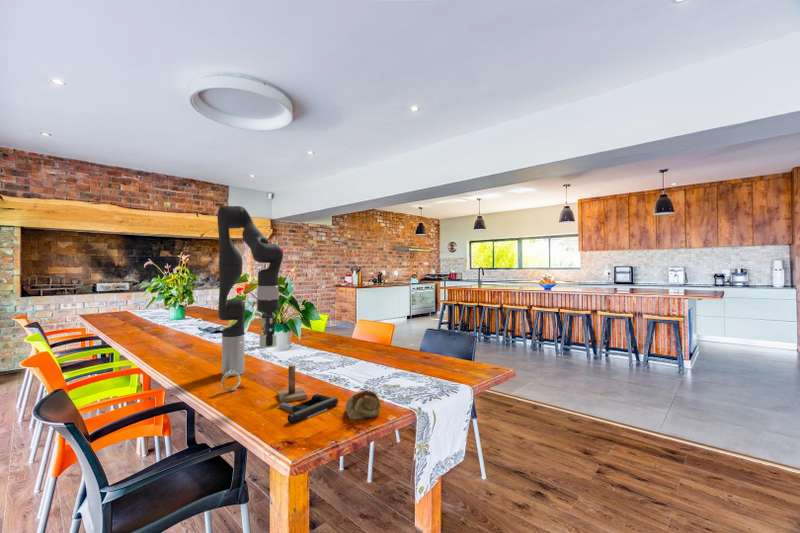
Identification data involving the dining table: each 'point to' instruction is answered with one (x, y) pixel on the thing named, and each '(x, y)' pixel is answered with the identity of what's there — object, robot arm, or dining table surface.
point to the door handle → (309, 407)
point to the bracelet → (227, 377)
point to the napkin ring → (263, 341)
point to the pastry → (362, 405)
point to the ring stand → (291, 389)
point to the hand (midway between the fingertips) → (268, 344)
